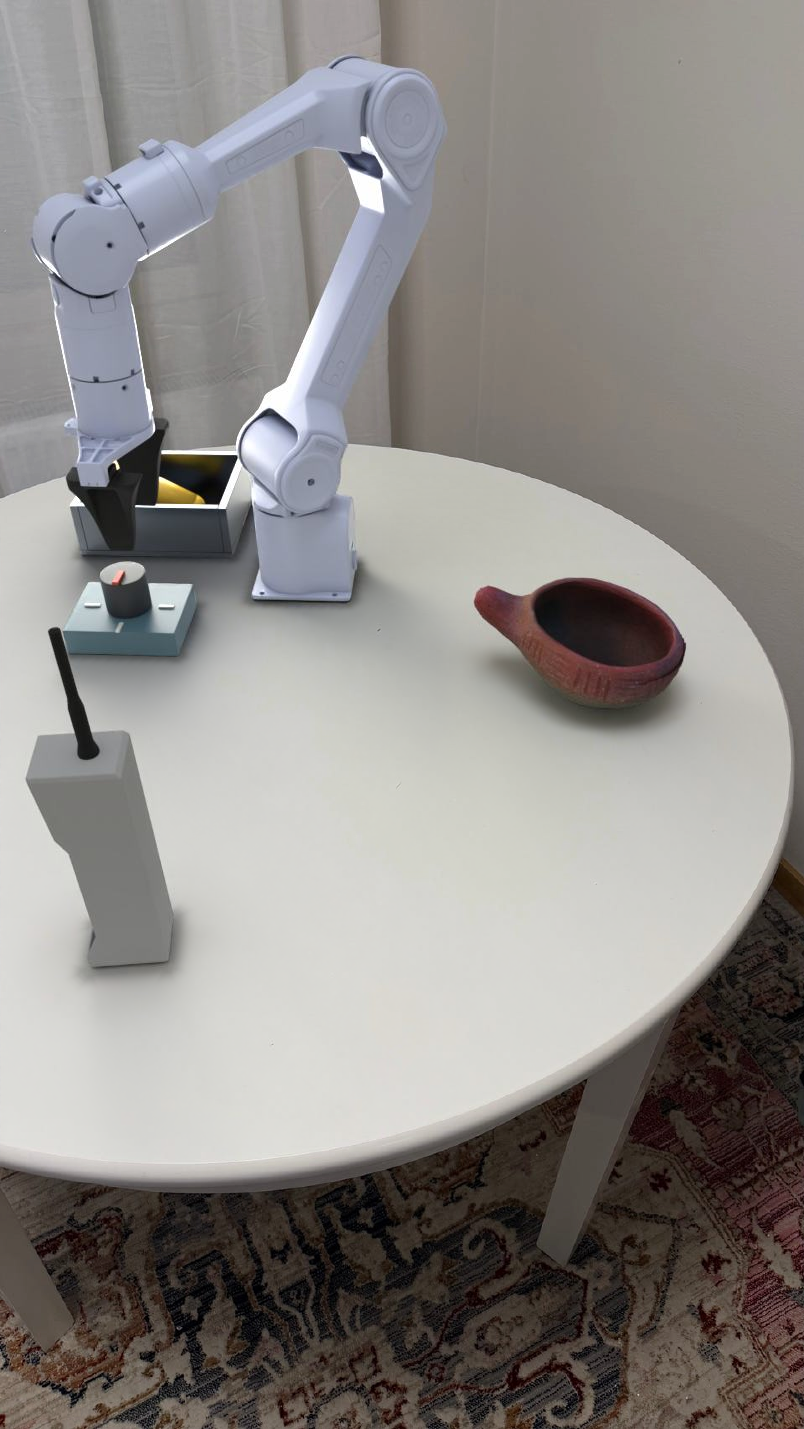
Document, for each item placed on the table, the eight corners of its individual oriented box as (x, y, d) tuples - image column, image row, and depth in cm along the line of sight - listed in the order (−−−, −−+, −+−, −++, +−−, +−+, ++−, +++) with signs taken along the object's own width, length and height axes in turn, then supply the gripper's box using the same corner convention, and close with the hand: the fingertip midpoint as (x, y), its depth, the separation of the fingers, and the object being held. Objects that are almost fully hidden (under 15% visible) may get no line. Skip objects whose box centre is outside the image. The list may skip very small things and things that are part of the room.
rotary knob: (115, 593, 93) (106, 557, 90) (157, 594, 92) (150, 559, 90) (100, 617, 90) (92, 581, 87) (144, 619, 89) (137, 583, 87)
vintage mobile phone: (98, 922, 67) (-2, 610, 51) (174, 917, 67) (98, 604, 51) (90, 969, 64) (-20, 654, 48) (169, 963, 64) (87, 648, 48)
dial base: (197, 605, 96) (193, 581, 94) (178, 657, 89) (173, 632, 88) (94, 603, 96) (88, 579, 94) (67, 654, 90) (60, 630, 88)
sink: (253, 498, 112) (247, 451, 108) (232, 558, 102) (225, 508, 98) (114, 496, 112) (104, 449, 109) (81, 555, 103) (69, 506, 99)
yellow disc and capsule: (203, 514, 109) (213, 493, 107) (196, 532, 106) (205, 512, 104) (93, 461, 106) (101, 439, 104) (82, 479, 103) (90, 457, 101)
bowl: (638, 632, 91) (651, 556, 86) (697, 722, 82) (716, 642, 77) (467, 655, 89) (469, 578, 84) (507, 750, 79) (513, 670, 74)
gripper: (81, 335, 84) (111, 485, 92) (21, 405, 72) (61, 567, 81) (166, 337, 83) (187, 487, 92) (118, 407, 72) (148, 570, 81)
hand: (133, 525), depth 86 cm, fingers open, 7 cm apart
